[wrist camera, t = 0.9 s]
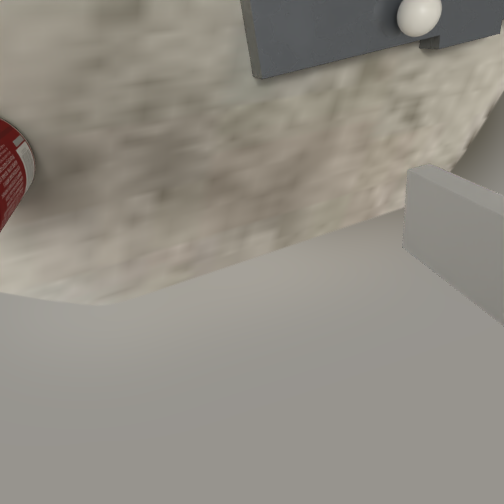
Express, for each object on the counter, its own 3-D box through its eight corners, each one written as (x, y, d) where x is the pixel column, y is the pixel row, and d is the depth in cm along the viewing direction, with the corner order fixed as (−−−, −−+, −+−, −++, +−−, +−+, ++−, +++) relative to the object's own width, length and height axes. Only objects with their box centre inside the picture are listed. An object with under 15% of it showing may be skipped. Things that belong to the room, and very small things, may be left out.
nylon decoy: (388, -6, 28) (414, -10, 26) (424, -14, 29) (453, -19, 26) (388, 40, 30) (412, 41, 27) (422, 32, 30) (449, 31, 28)
